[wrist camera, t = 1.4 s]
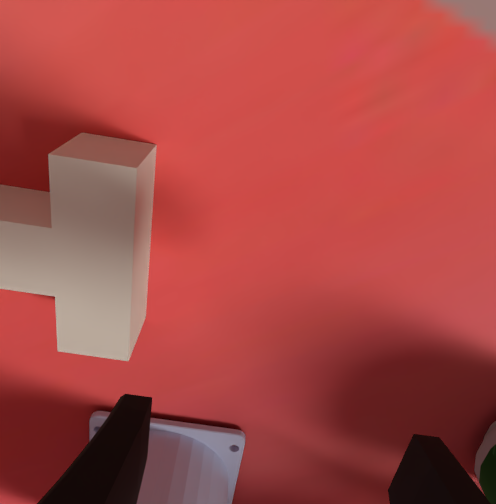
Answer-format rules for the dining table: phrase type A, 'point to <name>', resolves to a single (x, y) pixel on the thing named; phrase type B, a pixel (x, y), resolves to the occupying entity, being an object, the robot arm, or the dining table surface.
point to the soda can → (487, 464)
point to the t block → (85, 242)
